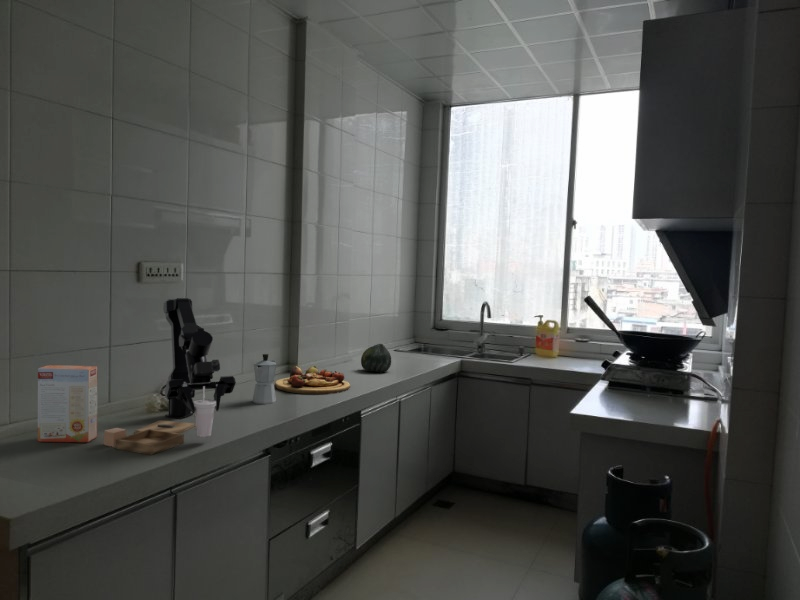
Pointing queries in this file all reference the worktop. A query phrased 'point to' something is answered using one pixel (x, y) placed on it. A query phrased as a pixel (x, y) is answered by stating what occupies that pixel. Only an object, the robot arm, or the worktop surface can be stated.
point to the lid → (168, 426)
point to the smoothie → (204, 415)
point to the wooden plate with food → (313, 382)
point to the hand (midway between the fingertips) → (205, 411)
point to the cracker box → (67, 403)
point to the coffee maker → (264, 381)
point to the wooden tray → (149, 441)
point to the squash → (376, 358)
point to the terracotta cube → (113, 436)
